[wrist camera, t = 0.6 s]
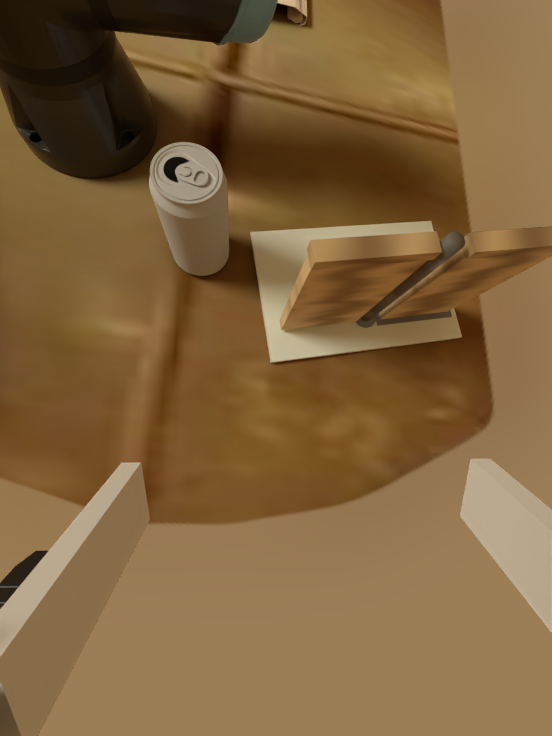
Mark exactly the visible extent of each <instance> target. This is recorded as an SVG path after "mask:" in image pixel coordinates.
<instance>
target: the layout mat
mask: <svg viewBox="0 0 552 736" xmlns="http://www.w3.org/2000/svg"><path fill="white" fill-rule="evenodd" d="M419 232H434V230H433V227H432V223H431V221H421V222H405V223H389V224H373V225H356V226H340V227H324V228H308V229H292V230H276V231H260V232H251V233H250V237H251V243H252V249H253V255H254V262H255V268H256V274H257V280H258V287H259V293H260V299H261V305H262V312H263V318H264V324H265V330H266V337H267V343H268V349H269V356H270V362H271V363H276V362H284V361H291V360H299V359H307V358H314V357H322V356H329V355H337V354H344V353H352V352H359V351H367V350H375V349H382V348H390V347H397V346H405V345H412V344H420V343H428V342H435V341H443V340H450V339H458V338H461V337H462V335H461V331H460V327H459V324H458V320H457V316H456V312H455V309H454V308H453V309H451V310H449V311H448V312H441V313H432V314H423V315H415V316H406V317H397V318H389V319H380V316H379V313H378V314H377V315H376V316H375V317H373V318H372V319H371V320H369V321H364V320H363V319H362V318H360V319H359V320H357V321H356V322H348V323H339V324H331V325H322V326H313V327H304V328H296V329H287V330H281V327H280V321H279V320H280V317H281V315H282V313H283V310H284V308H285V306H286V303H287V301H288V299H289V296H290V294H291V292H292V289H293V287H294V285H295V282H296V280H297V278H298V275H299V273H300V271H301V268H302V266H303V264H304V261H305V259H306V257H307V254H308V252H307V247H308V245H309V242H310V240H317V239H331V238H346V237H361V236H375V235H390V234H405V233H419Z"/></svg>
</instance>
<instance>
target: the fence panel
mask: <svg viewBox="0 0 552 736" xmlns="http://www.w3.org/2000/svg"><path fill="white" fill-rule="evenodd" d="M464 246H465V239H464V237H463V236H462V234H460V233H459V232H455V231H453V232H450V233H449V234H448V235H447V236H446V237H444V238H443V239H442V240H441V241H440V242H439V238H438V234H437V231H434V232H419V233H405V234H390V235H375V236H361V237H346V238H331V239H317V240H310V242H309V245H308V247H307V252H308V254H307V257H306V259H305V261H304V264H303V266H302V268H301V271H300V273H299V275H298V278H297V280H296V282H295V285H294V287H293V289H292V292H291V294H290V296H289V299H288V301H287V303H286V306H285V308H284V310H283V313H282V315H281V317H280V320H279V321H280V327H281V330H287V329H296V328H304V327H313V326H322V325H331V324H339V323H348V322H356V321H357V320H359V319H360V318H362V319H363V320H364V321H369V320H371V319H372V318H373V317H375V316H376V315H377V314H378V313H380V312H381V311H382V310H384V309H385V308H386V307H387V306H389V305H390V304H391V303H393V302H394V301H395V300H396V299H398V298H399V297H400V296H402V295H403V294H404V293H405V292H407V291H408V290H409V289H411V288H412V287H413V286H414V285H416V284H417V283H418V282H420V281H421V280H422V279H423V278H425V277H426V276H427V275H429V274H430V273H431V272H432V271H434V270H435V269H436V268H438V267H439V266H440V265H441V264H443V263H444V262H445V261H447V260H448V259H449V258H450V257H452V256H453V255H454V254H456V253H457V252H458V251H459V250H461V249H462V248H463V247H464Z"/></svg>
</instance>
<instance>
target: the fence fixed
mask: <svg viewBox="0 0 552 736" xmlns="http://www.w3.org/2000/svg"><path fill="white" fill-rule="evenodd" d="M464 239H465V246H464V247H463V248H462V249H461V250H459V251H458V252H457V253H456V254H454V255H453V256H452V257H450V258H449V259H448V260H447V261H445V262H444V263H443V264H441V265H440V266H439V267H438V268H436V269H435V270H434V271H432V272H431V273H430V274H429V275H427V276H426V277H425V278H423V279H422V280H421V281H420V282H418V283H417V284H416V285H414V286H413V287H412V288H411V289H409V290H408V291H407V292H405V293H404V294H403V295H402V296H400V297H399V298H398V299H396V300H395V301H394V302H393V303H391V304H390V305H389V306H387V307H386V308H385V309H384V310H382V311H381V312H380V313H379V316H380V319H389V318H397V317H406V316H415V315H423V314H432V313H441V312H448V311H449V310H451V309H453V308H455V307H457V306H459V305H461V304H463V303H464V302H466V301H468V300H470V299H472V298H474V297H476V296H478V295H479V294H481V293H483V292H485V291H487V290H489V289H491V288H492V287H494V286H496V285H498V284H500V283H502V282H504V281H506V280H507V279H509V278H511V277H513V276H515V275H517V274H518V273H520V272H522V271H524V270H526V269H528V268H530V267H532V266H533V265H535V264H537V263H539V262H541V261H543V260H545V259H547V258H549V257H550V256H552V227H537V228H523V229H509V230H494V231H481V232H470V233H468V234H467V235H466V236H465V237H464Z"/></svg>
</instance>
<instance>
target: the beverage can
mask: <svg viewBox="0 0 552 736" xmlns="http://www.w3.org/2000/svg"><path fill="white" fill-rule="evenodd" d="M149 188H150V192H151V195H152V198H153V200H154V203H155V206H156V209H157V212H158V215H159V217H160V220H161V223H162V226H163V229H164V231H165V234H166V237H167V240H168V243H169V246H170V248H171V251H172V254H173V257H174V259H175V261H176V263H177V264H178V265H179V266H180V267H181V268H182V269H183V270H184V271H186V272H188V273H190V274H193V275H197V276H206V275H211V274H214V273H216V272H217V271H219V270H220V269H221V268H222V267H223V266H224V265H225V264H226V262H227V260H228V257H229V221H228V184H227V179H226V176H225V174H224V172H223V170H222V167H221V164H220V162H219V161H218V159H217V158H216V156H215V155H214V154H213V153H212V152H211V151H209V150H208V149H206V148H205V147H203V146H201V145H198V144H195V143H190V142H177V143H172V144H169V145H167V146H165V147H163V148H162V149H160V150H159V151H158V152H157V153H156V154H155V156H154V157H153V159H152V161H151V165H150V178H149Z"/></svg>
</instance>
